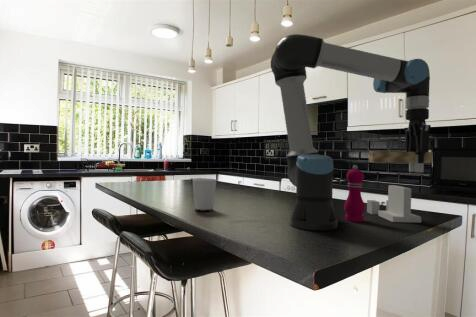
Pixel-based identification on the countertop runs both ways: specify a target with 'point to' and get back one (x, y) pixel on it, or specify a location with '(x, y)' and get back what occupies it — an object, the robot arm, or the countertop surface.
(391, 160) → the oak batten
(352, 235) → the countertop surface
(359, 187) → the pepper mill
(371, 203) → the rest blocks
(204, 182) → the cup
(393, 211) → the ridge stand
